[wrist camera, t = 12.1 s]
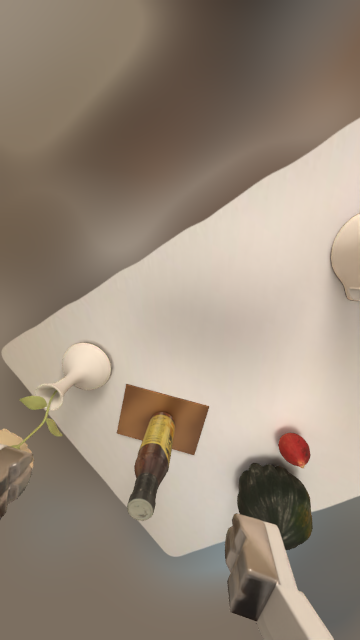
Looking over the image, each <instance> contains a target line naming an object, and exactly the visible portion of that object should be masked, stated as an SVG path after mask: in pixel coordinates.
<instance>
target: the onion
mask: <svg viewBox="0 0 360 640" xmlns="http://www.w3.org/2000/svg"><path fill="white" fill-rule="evenodd" d="M278 446H279V450H280V453H281V455H282V456H283V457H284V458H285V460H286V461H287V462H289V463H291V464H293V465H296V466H299V467H301V468H304V466H305V465H306V464H307V463H308V461H309V459H310V450H309V446H308V444H307V443H306V441H305V440H304V439H303V438H302V437H301V436H299V435H297V434H295V433H287V434H284V435H283V436H282V437H281V438H280V440H279V444H278Z"/></svg>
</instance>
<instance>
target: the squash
mask: <svg viewBox="0 0 360 640" xmlns="http://www.w3.org/2000/svg"><path fill="white" fill-rule="evenodd" d="M237 504H238V509H239V513H240V514H241V515H244V516H248V517H252V518H255V519H259V520H261V521H264V522H268V523H271V524H275V525H277V527H278V529H279V531H280V534H281V537H282V541H283V544H284V547H285V550H290V549H292V548H295V547H297V546H298V545H300V544H302V543H304V542H305V541H306V540H307V539H308V538H309V537H310V535H311V532H312V516H311V504H310V497H309V494H308V492H307V490H306V488H305V487H304V485H303V484H302V482H301V481H300V480H299V479H298V478H296V477H295V476H293V475H292V474H290V473H289V472H288V471H287V470H286V469H285V468H283V467H281V466H276V467H273V466H272V465H270V464H266V465H265V466H264V467H263V466H262V465H260V464H257V463H253V464H251V466H250V468H249V470H246V471H245V472H243V474H242V475H241V477H240V479H239V494H238V498H237Z"/></svg>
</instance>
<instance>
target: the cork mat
mask: <svg viewBox="0 0 360 640" xmlns="http://www.w3.org/2000/svg"><path fill="white" fill-rule="evenodd" d="M208 409H209V406H206V405H202V404H198V403H195V402H191V401H187V400H184V399H180V398H176V397H173V396H169V395H165V394H162V393H158V392H154V391H150V390H147V389H143V388H139V387H136V386H132V385H128V384H126V389H125V394H124V399H123V404H122V409H121V415H120V420H119V425H118V430H117V433H118V434H121V435H125V436H128V437H132V438H135V439H139V440H142V441H143V438H144V436H145V433H146V430H147V427H148V425H149V422H150V420H151V418H152V417H153V415H155V414H156V413H159V412H165V413H168V414H169V415H170V416H172V417H173V419H174V422H175V432H174V438H173V444H172V449H174V450H178V451H181V452H185V453H188V454H192V455H194V454H195V451H196V447H197V444H198V441H199V438H200V435H201V431H202V428H203V425H204V422H205V418H206V415H207V412H208Z"/></svg>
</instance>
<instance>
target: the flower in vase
mask: <svg viewBox="0 0 360 640" xmlns="http://www.w3.org/2000/svg"><path fill="white" fill-rule="evenodd" d="M62 369H63V372H64V375H65V377H64V378H63V379H61V380H60V381H58V382H56V383H54V384H42V385H40V386H38V387H37V389H36V391H35V396H29V397H25V398H22V399H20V401H21V402H22V403H23V404H25V405H26V406H27V407H28V408H30V409H32V410H36V409H41V408H45V409H47V410H46V414H45V418H44V420H43V422H42V423H41V424H40V426H38V427H37V428H36V429H35V430H34V431H33V432H32V433H31V434H30V435H29V436H28V437H27V438H25V439H24V440H22V438H21V437H19V436H18V437H17V435H16V434H15V433H10V432H9V431H8V430H7V429H3V430H0V444H4V445H7V446H10V447H13V448H16V449H19V450H22V451H25V452H29V453H31V450H29V449H28V448H27V444H26V443H25V441H26V440H27V439H28V438H29V437H31V436H32V435H33V434H34V433H35V432H36V431H37V430H38V429H39V428H40V427H41V426H42V425H43V424H44V422H45V421H46V422H47V425H48V427H49V430H50V432H51V433H52V434H53V435H55V436H62V434H61V433H60V432H59V430H58V429H57V427H56V424H55V422H54V421H53V420H52V419H48V418H47V415H48V412H49V410H56V409H58V408H59V407H60V406H61V405H62V402H63V396H64V394H65V393H66V391H67V390H68V389H69V388H70V387H71V386H72V385H74V386H76V387H78V388H80V389H84V390H93V389H96V388H99V387H101V386H103V385H104V384H105V383H106V382H107V381H108V379H109V377H110V373H111V366H110V362H109V359H108V357H107V356H106V354H105V353H104V352H103V351H102V350H101V349H100V348H98V347H97V346H95V345H92V344H89V343H78V344H75V345H73V346H71V347H70V348H69V349H68V350H67V351H66V353H65V354H64V356H63V359H62ZM33 461H34V459H33ZM33 461H32V462H33ZM32 462H31V463H30V464H29V465H30V467H31V468H33V463H32Z"/></svg>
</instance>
